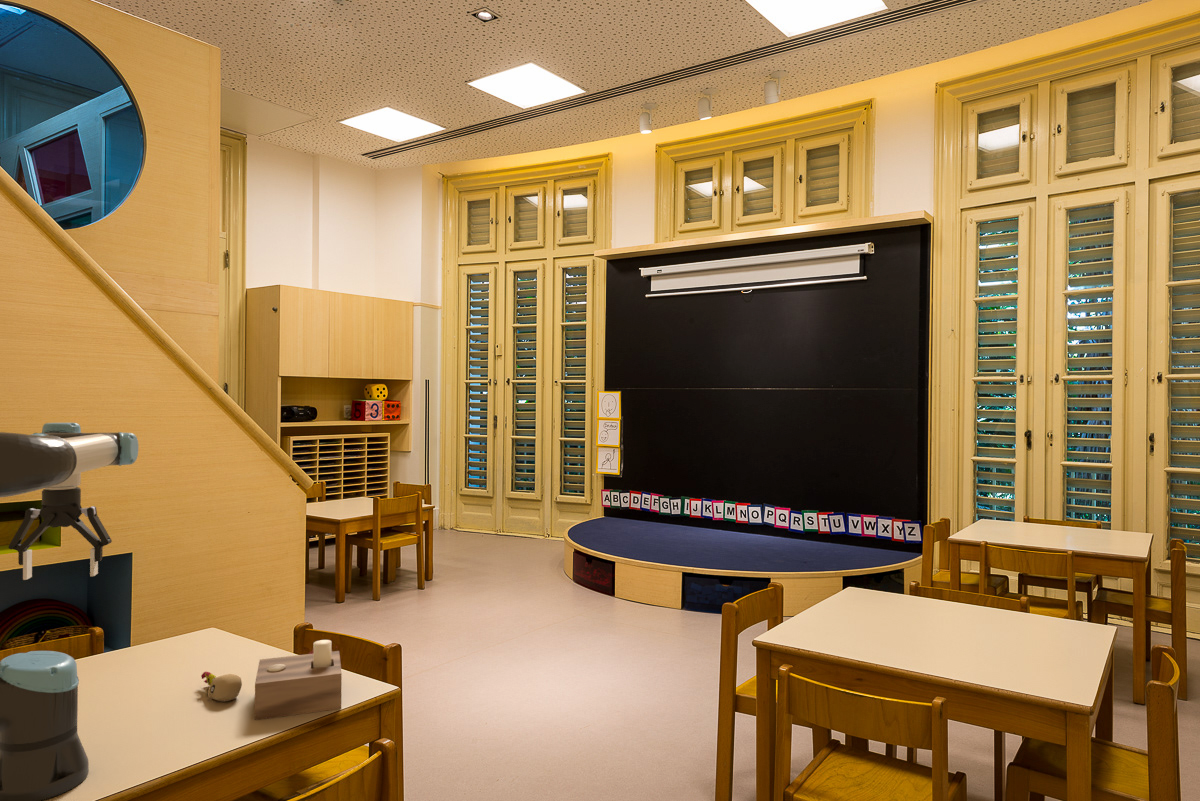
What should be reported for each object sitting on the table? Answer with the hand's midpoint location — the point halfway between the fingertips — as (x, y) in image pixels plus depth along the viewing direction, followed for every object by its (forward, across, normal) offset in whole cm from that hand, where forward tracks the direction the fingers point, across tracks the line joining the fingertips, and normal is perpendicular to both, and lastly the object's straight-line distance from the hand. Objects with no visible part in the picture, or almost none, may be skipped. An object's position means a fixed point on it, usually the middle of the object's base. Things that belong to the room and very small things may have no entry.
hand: (61, 576), depth 178 cm
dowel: (+23, -60, +19) cm, 67 cm away
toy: (+28, -36, +10) cm, 47 cm away
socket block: (+28, -55, +19) cm, 64 cm away
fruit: (+28, -58, 0) cm, 65 cm away
